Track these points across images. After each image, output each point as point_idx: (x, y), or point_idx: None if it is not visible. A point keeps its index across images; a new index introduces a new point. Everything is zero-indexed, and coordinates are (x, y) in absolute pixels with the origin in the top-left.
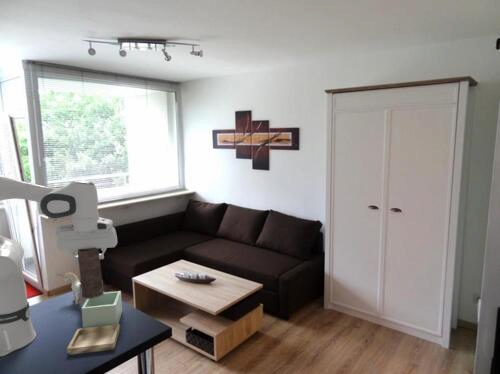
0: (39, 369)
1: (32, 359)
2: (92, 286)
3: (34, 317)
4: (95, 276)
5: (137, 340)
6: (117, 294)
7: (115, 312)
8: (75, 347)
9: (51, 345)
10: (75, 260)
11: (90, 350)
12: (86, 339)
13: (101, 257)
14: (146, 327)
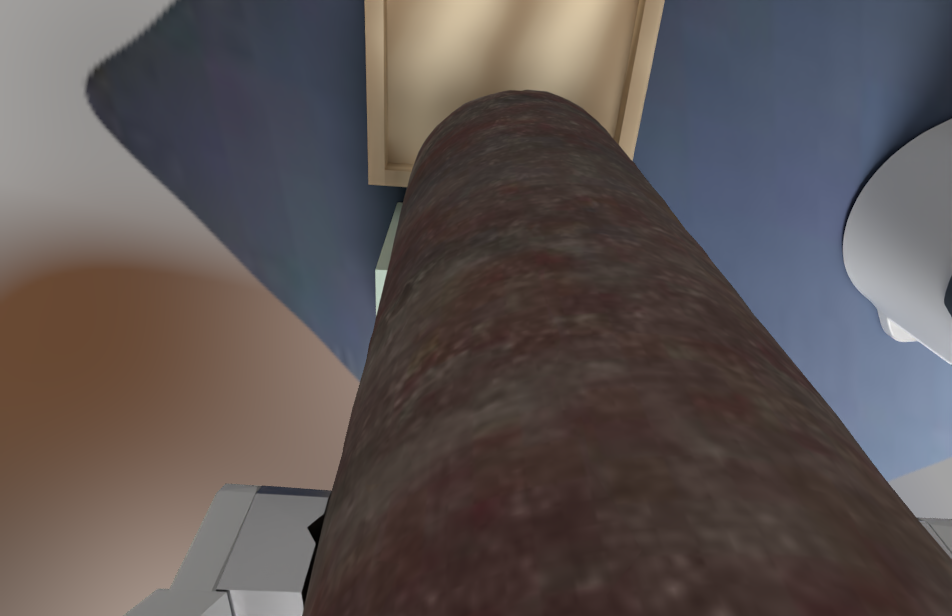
0: None
1: None
2: (499, 125)
3: (848, 418)
4: (444, 197)
5: (235, 9)
6: None
7: (387, 244)
8: None
9: (758, 112)
10: (935, 526)
11: None
12: (560, 93)
13: (243, 522)
14: (212, 153)
